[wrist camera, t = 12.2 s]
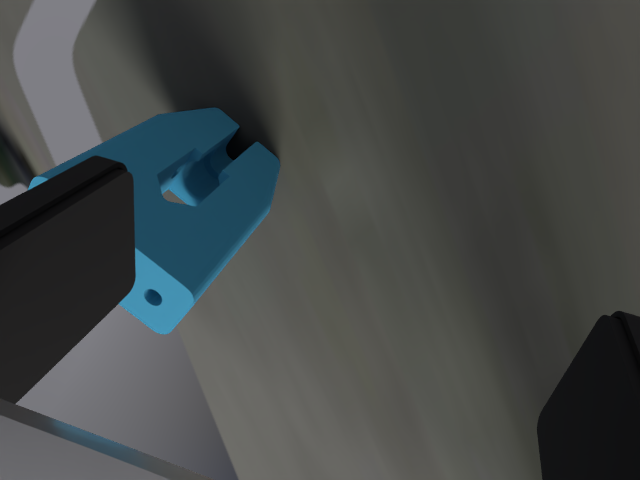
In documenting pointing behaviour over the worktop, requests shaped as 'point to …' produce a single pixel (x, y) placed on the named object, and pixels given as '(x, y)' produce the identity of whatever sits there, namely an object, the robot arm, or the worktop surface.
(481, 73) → the worktop surface
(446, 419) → the worktop surface
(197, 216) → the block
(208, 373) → the worktop surface
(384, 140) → the worktop surface
